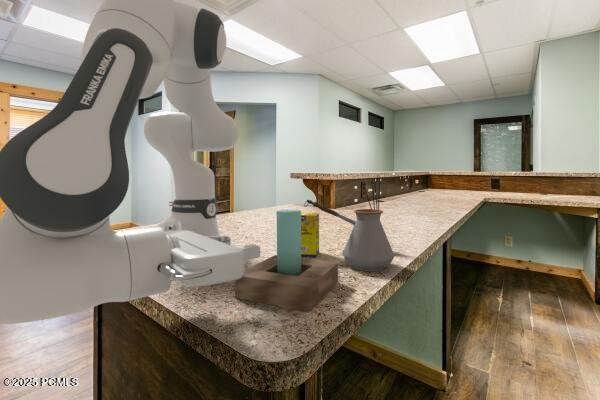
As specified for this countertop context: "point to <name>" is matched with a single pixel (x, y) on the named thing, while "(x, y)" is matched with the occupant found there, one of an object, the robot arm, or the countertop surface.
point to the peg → (289, 242)
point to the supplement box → (309, 234)
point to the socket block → (288, 284)
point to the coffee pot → (365, 240)
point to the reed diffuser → (373, 194)
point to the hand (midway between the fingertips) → (242, 245)
